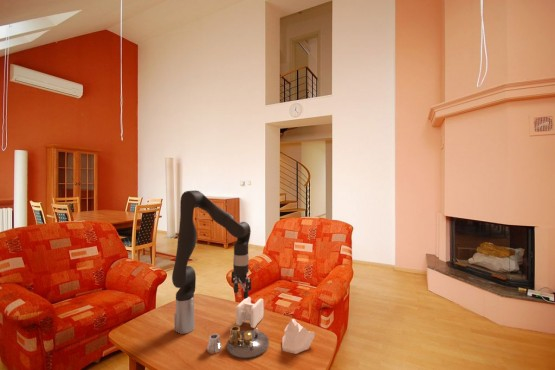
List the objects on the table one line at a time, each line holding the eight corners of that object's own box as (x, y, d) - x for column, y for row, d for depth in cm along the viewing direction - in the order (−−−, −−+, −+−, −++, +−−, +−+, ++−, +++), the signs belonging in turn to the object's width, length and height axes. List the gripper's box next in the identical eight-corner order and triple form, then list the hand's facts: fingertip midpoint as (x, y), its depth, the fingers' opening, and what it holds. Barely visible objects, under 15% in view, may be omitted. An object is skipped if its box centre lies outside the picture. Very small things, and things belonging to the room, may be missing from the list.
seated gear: (229, 345, 123) (228, 333, 123) (228, 338, 129) (228, 326, 129) (242, 343, 125) (242, 331, 125) (241, 336, 131) (241, 324, 131)
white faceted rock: (306, 361, 117) (300, 334, 114) (277, 353, 124) (271, 328, 121) (315, 339, 127) (310, 314, 124) (288, 333, 134) (282, 310, 132)
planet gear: (205, 352, 121) (205, 340, 121) (210, 344, 127) (210, 332, 127) (218, 353, 120) (218, 341, 120) (223, 345, 126) (223, 333, 126)
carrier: (220, 356, 118) (220, 344, 118) (234, 331, 138) (234, 321, 137) (264, 360, 115) (264, 348, 115) (271, 334, 135) (271, 323, 135)
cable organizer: (252, 331, 138) (252, 309, 138) (235, 327, 141) (234, 306, 141) (264, 317, 152) (263, 297, 152) (247, 314, 155) (247, 295, 155)
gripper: (226, 260, 132) (226, 292, 132) (242, 268, 121) (242, 302, 122) (239, 258, 137) (239, 288, 137) (255, 264, 126) (255, 298, 127)
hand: (240, 295), depth 129 cm, fingers open, 8 cm apart
